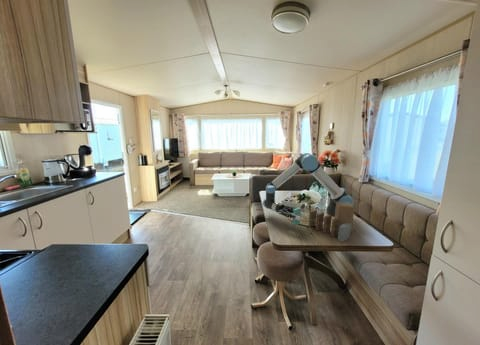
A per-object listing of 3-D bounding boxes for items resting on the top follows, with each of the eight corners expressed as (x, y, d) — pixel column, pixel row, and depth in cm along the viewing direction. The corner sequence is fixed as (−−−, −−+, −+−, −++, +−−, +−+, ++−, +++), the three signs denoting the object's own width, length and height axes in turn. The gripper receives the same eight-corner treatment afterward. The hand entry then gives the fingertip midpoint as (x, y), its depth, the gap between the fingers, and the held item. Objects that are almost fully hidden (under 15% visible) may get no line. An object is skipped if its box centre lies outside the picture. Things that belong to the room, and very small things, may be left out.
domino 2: (308, 226, 159) (309, 211, 157) (313, 224, 163) (314, 209, 160) (310, 227, 157) (312, 212, 155) (315, 225, 161) (316, 210, 159)
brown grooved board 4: (322, 232, 150) (324, 216, 147) (327, 230, 153) (329, 214, 151) (325, 233, 148) (327, 217, 146) (330, 231, 151) (331, 215, 149)
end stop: (344, 236, 144) (346, 222, 142) (349, 237, 142) (350, 224, 140) (337, 239, 139) (339, 225, 137) (342, 241, 137) (343, 227, 135)
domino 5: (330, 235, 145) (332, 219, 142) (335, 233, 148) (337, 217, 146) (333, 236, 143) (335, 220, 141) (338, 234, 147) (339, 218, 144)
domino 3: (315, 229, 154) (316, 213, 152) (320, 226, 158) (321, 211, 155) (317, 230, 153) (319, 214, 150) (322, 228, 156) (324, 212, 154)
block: (351, 233, 148) (355, 207, 144) (336, 232, 150) (339, 205, 146) (347, 227, 157) (350, 202, 153) (333, 226, 159) (335, 201, 155)
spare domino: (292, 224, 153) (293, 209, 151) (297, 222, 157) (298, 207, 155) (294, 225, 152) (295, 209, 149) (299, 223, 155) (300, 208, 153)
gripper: (286, 209, 173) (310, 219, 155) (269, 215, 162) (293, 225, 144) (286, 201, 172) (311, 209, 154) (270, 205, 161) (294, 215, 143)
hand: (302, 217), depth 149 cm, fingers closed on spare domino, 6 cm apart
